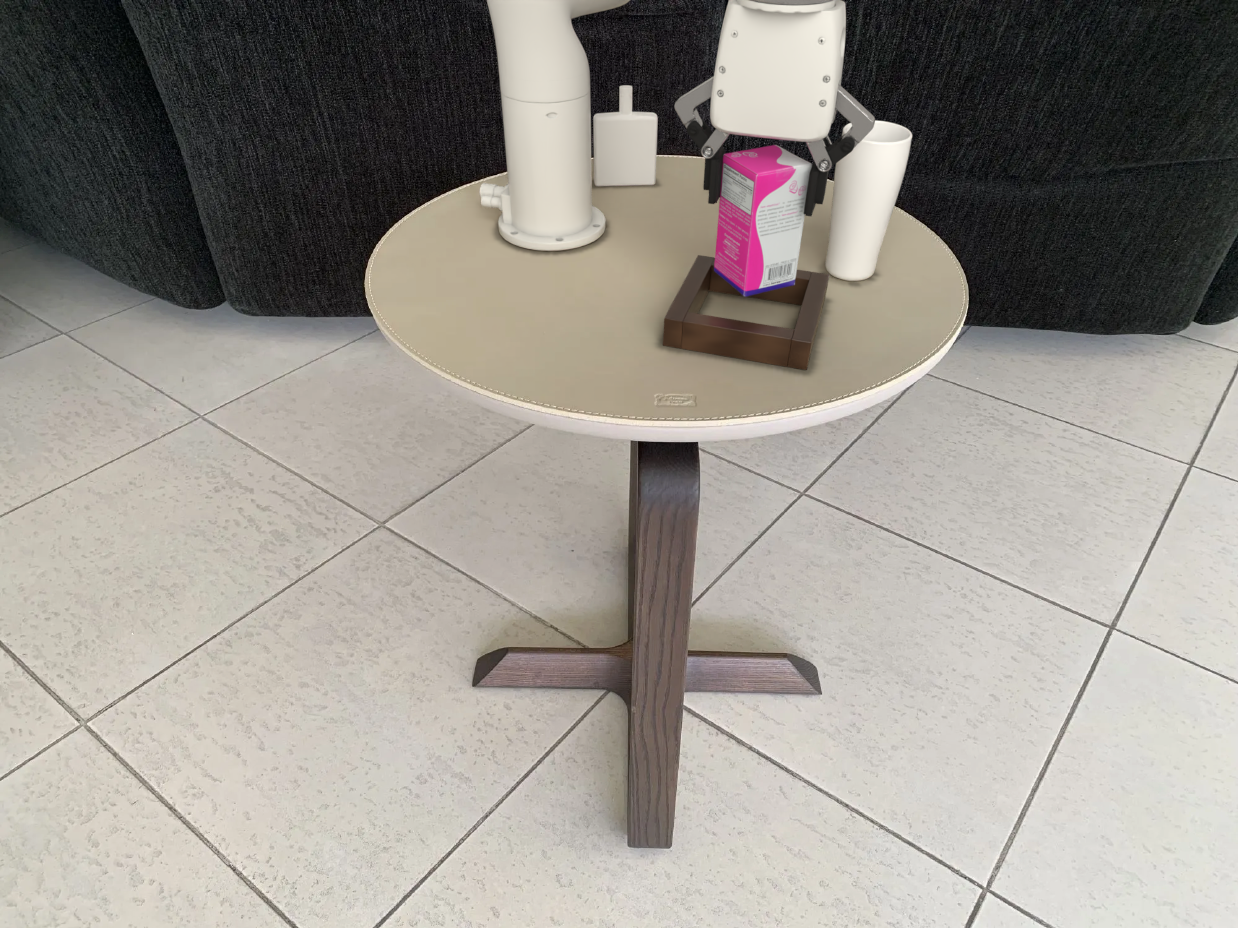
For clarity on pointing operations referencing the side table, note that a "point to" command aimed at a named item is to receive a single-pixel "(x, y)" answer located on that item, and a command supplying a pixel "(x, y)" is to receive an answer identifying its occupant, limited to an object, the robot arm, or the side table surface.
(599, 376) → the side table surface
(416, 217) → the side table surface
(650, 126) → the perfume bottle
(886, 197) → the drinking glass
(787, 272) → the supplement box
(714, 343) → the socket
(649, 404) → the side table surface
